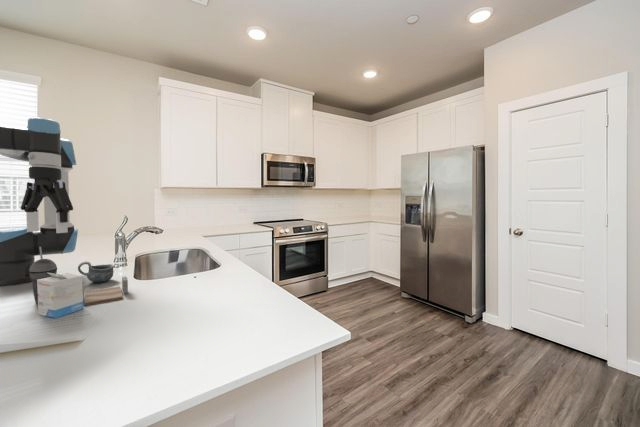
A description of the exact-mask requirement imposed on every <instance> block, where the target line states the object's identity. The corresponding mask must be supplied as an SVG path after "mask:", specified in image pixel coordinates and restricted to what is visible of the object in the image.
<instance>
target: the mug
mask: <svg viewBox="0 0 640 427" xmlns="http://www.w3.org/2000/svg"><path fill="white" fill-rule="evenodd" d="M85 265H88V272H84V271H82V269H81V267H82V266H85ZM114 268H115V264H110V263H109V264H97V265H92V264H91V262H90V261H83V262H81V263H79V264H78V266H77V271H78V272H79V273H80V274H82V276H85V277H87V279H88V280H89V281H90V282H92V283H95V284H102V283H106V282H109V281H110V280H111V279H112V278H113V276H114Z"/></svg>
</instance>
